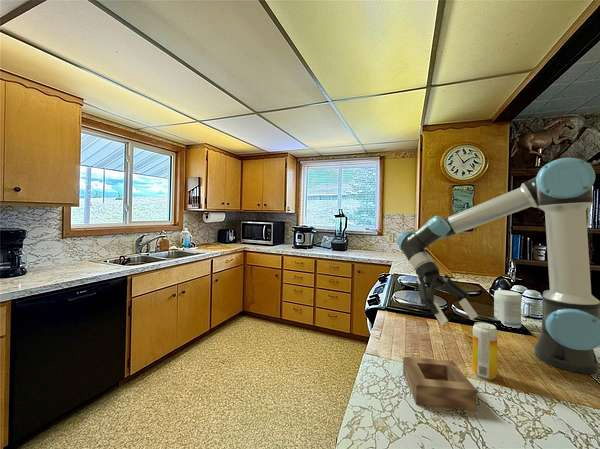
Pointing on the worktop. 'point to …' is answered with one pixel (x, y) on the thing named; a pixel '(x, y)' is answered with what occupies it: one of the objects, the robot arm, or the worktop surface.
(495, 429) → the worktop surface
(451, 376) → the walnut socket holder
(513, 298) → the supplement tub
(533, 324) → the worktop surface
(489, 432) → the worktop surface
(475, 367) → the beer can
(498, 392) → the worktop surface
